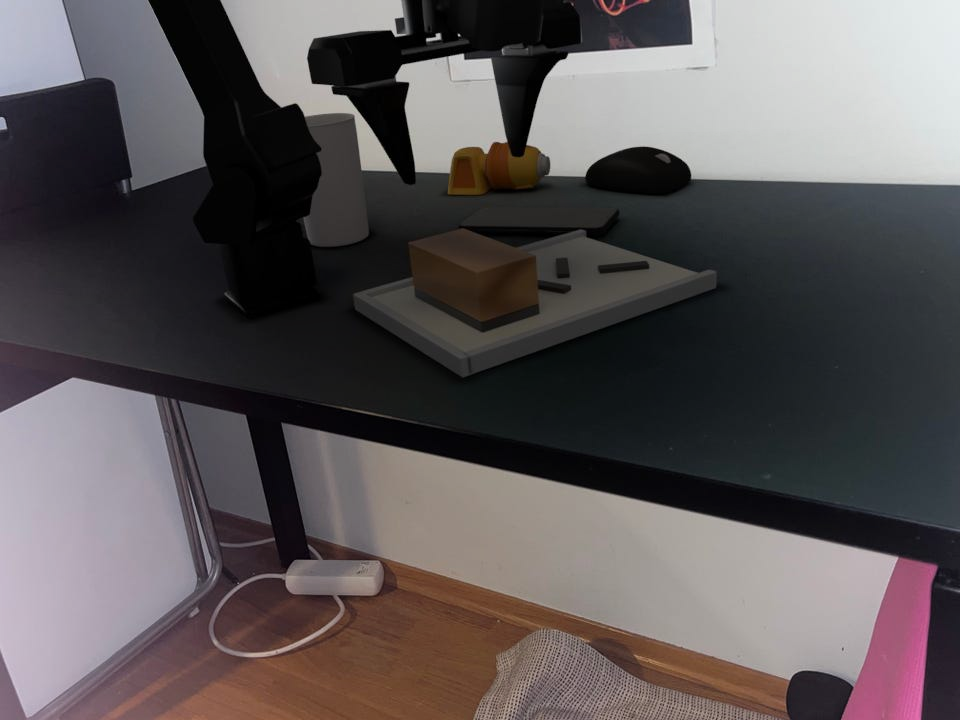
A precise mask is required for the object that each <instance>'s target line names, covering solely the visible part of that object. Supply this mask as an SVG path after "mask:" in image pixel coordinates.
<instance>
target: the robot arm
mask: <svg viewBox="0 0 960 720" xmlns="http://www.w3.org/2000/svg"><path fill="white" fill-rule="evenodd" d="M400 1H401V8H402V14H403V17H396V18H394V23H395V32H396V35H398V36H396V35H395V34H394V32H393V30H392V29H383V30H380V29H379V30H357V31H352V32H346V33H339V34H333V35H325V36H321V37H320V36H319V37H314V38H313V39H312V41H311V43H310V46H309V47H308V51H307V57H306V60H307V66H308V71H309V77H310V82H311V84H312V85H320V86H330V87H331V93H332V95H334V96H345V97H347V99H348V100H349V101H350V102H351V104H352V105H353V107H354V108H355V109H356V110H357V112H358V114H360V116H361V117H362V118H363V119H364V122H365V123H366V124H367V125H368V126H369V128H370V129H371V132H373V134H374V136H375V137H376V139H377V140H378V143H379V144H380V146H381V147H382V149H383V150H384V152H385V153H386V156H387V157H388V159H389V161H390V162H391V164H392V166H393V167H394V169H395V170H396V172H397V174H398V175H399V177H400V180H401V181H402V182H403V183H404V184H405V185H408V186H414V185H416V183H417V178H416V177H417V175H416V162H415V156H414V151H413V146H412V140H411V135H410V129H409V123H408V118H407V111H406V102H407V98H408V93H409V88H410V82H409V81H398V80H397V75H398V72H399V71H400V69H401V68H402V66H404V65H408V64H415V63H420V62H427V61H431V60H437V59H442V58H448V57H454V56H459V55H465V54H470V53H471V54H472V53H476V52H481V51H483V52H498V51H501V54H498V55H492V56H490V61H491V65H492V66H491V67H492V71H493V77H494V82H495V86H496V92H497V97H498V104H499V107H500V113H501V119H502V124H503V129H504V134H505V135H504V136H505V138H506V142H508V145H509V149H510V152H511V155H512V156H513V157H518V158H519V157H523V156H524V153H525V149H526V145H528V141H529V136H530V133H531V128H532V123H533V119H534V116H535V115H534V114H535V112H536V107H537V103H538V100H539V96H540V93H541V91H542V88H543V85H544V81H545V80H546V78H547V76H548V75H549V74H550V72H551V71H552V70H553V69H554V68H555V66H556V65H557V64H558V63H559V62H560V61H563V60H567V58H568V57H569V53H570V51H569V50H558V48H559V49H560V48H564V47H568V46H575V45H578V44H579V45H580V44H582V43H583V32H582V31H583V29H582V17H581V15H580V13H578V11H577V10H576V8H575V7H574V5H573V4H572V2H571V1H565V0H400ZM147 3H148V4H149V6H150V8H151V10H152V13H153V14H154V16H155V18H156V21H157V22H158V24H159V27H160V29H161V30H162V34H163V35H164V37H165V39H166V41H167V43H168V45H169V47H170V49H171V51H172V53H173V55H174V57H175V59H176V62H177V63H178V65H179V68H180V70H181V71H182V73H183V75H184V78H185V80H186V83H187V84H188V86H189V88H190V90H191V92H192V94H193V96H194V98H195V100H196V102H197V104H198V106H199V108H200V111H201V113H202V116H203V138H202V139H203V140H202V141H203V145H202V146H203V147H202V151H203V152H202V156H203V160H204V163H205V165H206V169H207V172H208V174H209V177H210V180H211V183H212V186H211V187H210V190H209V191H208V192H207V194H206V196H205V198H204V199H203V201H202V202H201V204H200V205H199V207H198V209H197V210H196V212H195V214H194V215H193V217H192V222H193V224H194V226H195V228H196V230H197V231H198V233H199V235H200V237H201V239H202V242H203V243H205V244H215V245H218V247H219V250H220V256H221V260H222V264H223V269H224V273H225V278H226V283H227V287H228V290H227V291H226V292H224V298H225V300H226V301H227V302H228V303H230V304H231V305H232V306H233V307H235V308H236V309H237V310H238V311H240V312H241V313H242V314H243V315H244V316H245V317H249V318H253V317H257V316H259V315H263V314H266V313H270V312H274V311H277V310H281V309H285V308H288V307H291V306H295V305H299V304H302V303H306V302H310V301H313V300H317V299H320V298H321V291H320V290H319V289H317V288H316V287H315V286H316V285H317V283H318V280H317V279H318V278H317V273H316V268H315V262H314V256H313V251H312V244H310V240H309V239H308V237H306V236H304V234H303V229H302V228H303V227H302V224H301V223H300V222H299V221H298V220H300V219H302V218H303V217H306V216H308V215H310V210H311V203H312V196H313V194H314V192H315V191H316V189H317V187H318V183H319V179H320V177H321V176H322V171H321V164H320V161H319V158H318V156H317V154H316V153H318V152H320V151H321V150H322V148H321V147H320V146H319V145H318V144H317V142H316V141H315V140H314V138H313V137H312V135H311V133H310V131H309V129H308V126H307V123H306V120H305V117H306V116H305V113H304V111H303V109H302V108H301V107H300V106H299V104H298V103H296V102H295V103H291V104H288V105H284V106H282V107H281V106H280V105H279V104H278V103H277V102H276V101H275V100H273V99H272V97H270V96H269V95H268V94H267V93H266V92H265V91H264V89H263V88H262V86H261V83H260V81H259V80H258V78H257V76H256V73H255V70H254V69H253V67H252V65H251V62H250V60H249V57H248V56H247V53H246V51H245V50H244V47H243V45H242V43H241V41H240V39H239V37H238V35H237V32H236V30H235V28H234V25H233V23H232V22H231V20H230V17H229V15H228V13H227V11H226V9H225V7H224V5H223V3H222V0H147ZM437 34H439V36H440V39H434V38H437ZM427 39H433V40H428V41H427Z"/></svg>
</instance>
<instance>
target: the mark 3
mask: <svg viewBox="0 0 960 720" xmlns="http://www.w3.org/2000/svg"><path fill="white" fill-rule="evenodd" d="M643 269H649V264H648V262H647V261H638V262H628V263H617V264H607V265H598V271H599V273H600V274H601V273H612V272H622V271H632V270H643Z"/></svg>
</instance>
